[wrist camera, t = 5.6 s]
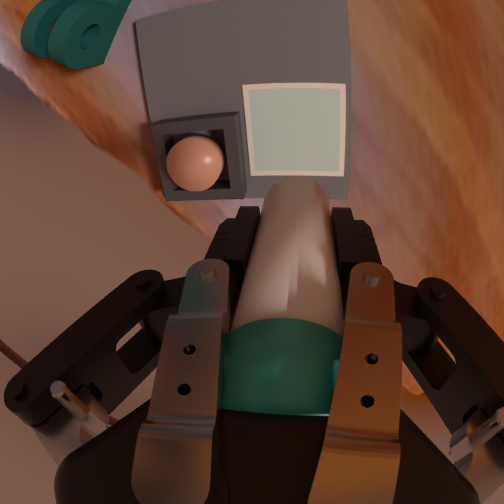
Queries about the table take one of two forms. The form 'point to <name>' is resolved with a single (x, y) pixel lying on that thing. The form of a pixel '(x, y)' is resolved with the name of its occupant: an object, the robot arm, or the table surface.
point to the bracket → (73, 30)
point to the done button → (195, 162)
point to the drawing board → (252, 91)
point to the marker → (287, 309)
